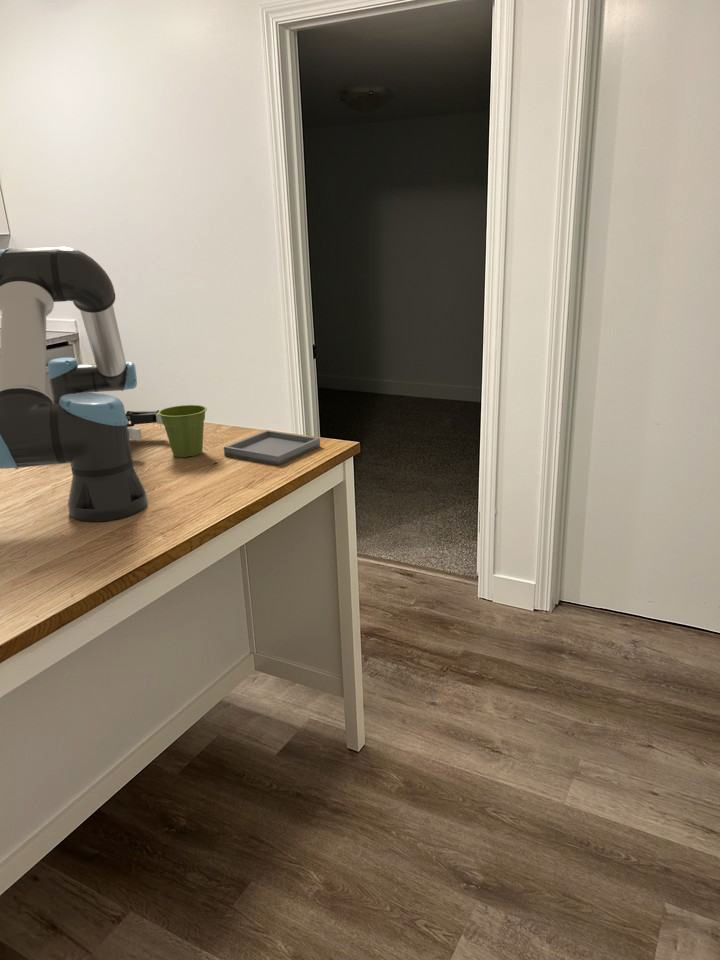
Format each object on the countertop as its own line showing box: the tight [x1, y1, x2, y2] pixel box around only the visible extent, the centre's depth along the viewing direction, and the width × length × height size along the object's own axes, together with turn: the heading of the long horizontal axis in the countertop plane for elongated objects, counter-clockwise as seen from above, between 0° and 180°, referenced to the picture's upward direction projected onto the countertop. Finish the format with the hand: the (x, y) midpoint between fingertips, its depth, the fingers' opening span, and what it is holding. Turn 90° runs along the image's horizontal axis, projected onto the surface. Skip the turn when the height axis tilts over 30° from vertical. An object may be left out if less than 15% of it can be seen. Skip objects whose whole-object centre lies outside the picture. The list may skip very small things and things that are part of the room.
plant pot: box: [158, 404, 208, 458], centre depth 179 cm, size 12×12×11 cm
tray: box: [223, 429, 321, 466], centre depth 181 cm, size 17×17×2 cm
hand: (159, 427), depth 183 cm, fingers open, 13 cm apart
